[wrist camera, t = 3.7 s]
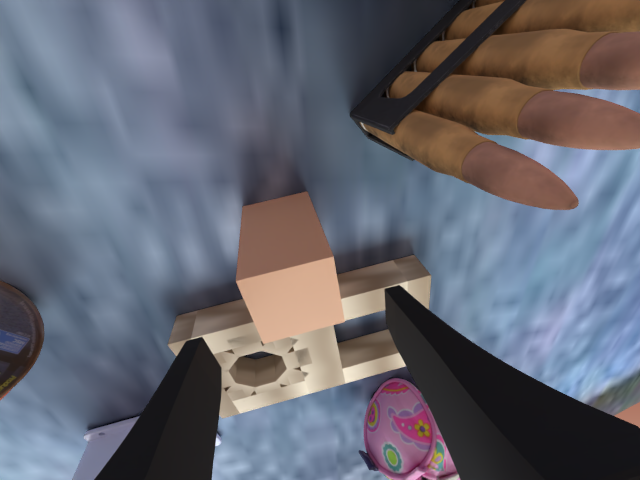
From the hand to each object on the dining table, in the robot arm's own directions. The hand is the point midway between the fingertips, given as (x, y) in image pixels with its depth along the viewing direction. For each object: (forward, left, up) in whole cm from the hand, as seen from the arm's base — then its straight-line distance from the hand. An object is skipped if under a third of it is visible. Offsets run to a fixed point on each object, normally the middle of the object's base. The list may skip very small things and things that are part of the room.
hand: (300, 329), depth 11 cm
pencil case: (+12, -29, -9) cm, 33 cm away
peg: (0, 0, -8) cm, 8 cm away
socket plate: (0, -10, -8) cm, 13 cm away
